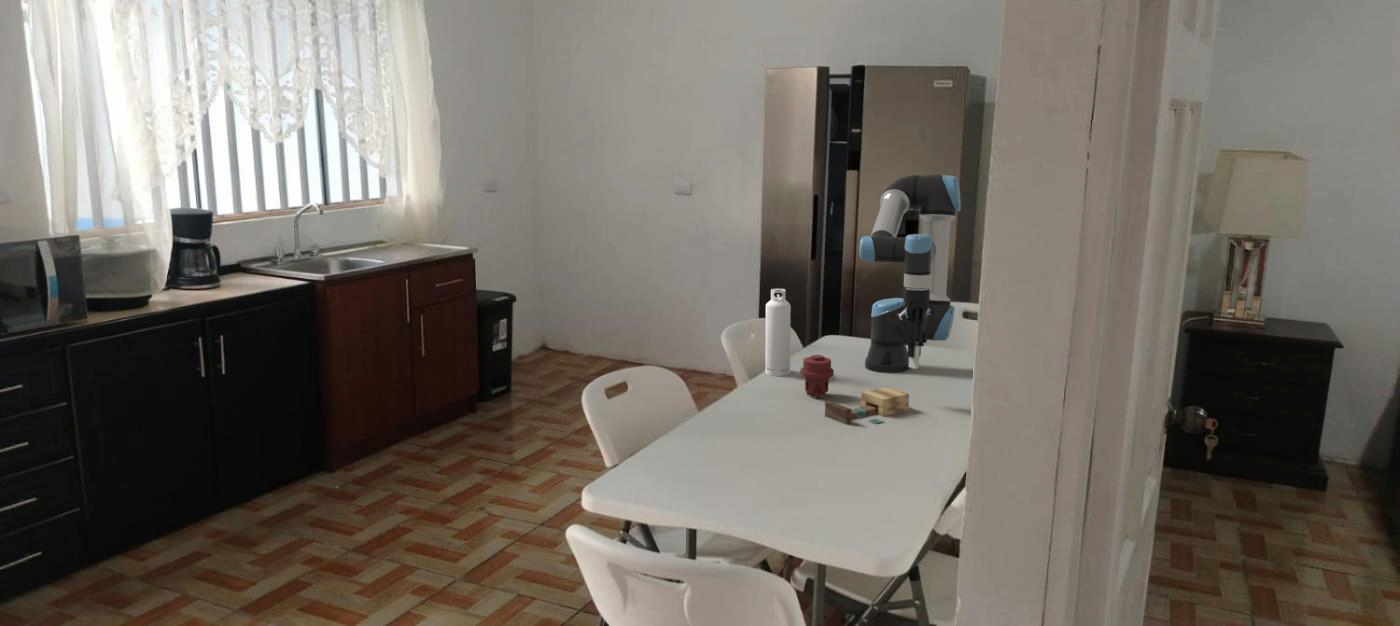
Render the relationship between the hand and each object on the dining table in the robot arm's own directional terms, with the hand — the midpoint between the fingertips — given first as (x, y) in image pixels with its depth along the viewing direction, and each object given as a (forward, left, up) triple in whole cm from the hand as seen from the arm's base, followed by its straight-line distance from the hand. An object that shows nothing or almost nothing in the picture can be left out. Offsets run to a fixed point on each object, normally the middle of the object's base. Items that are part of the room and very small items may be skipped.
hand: (913, 367), depth 285 cm
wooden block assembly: (+17, 0, -11) cm, 20 cm away
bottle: (+12, -50, -11) cm, 53 cm away
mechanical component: (+18, -22, -11) cm, 31 cm away
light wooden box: (+11, 0, -11) cm, 15 cm away
